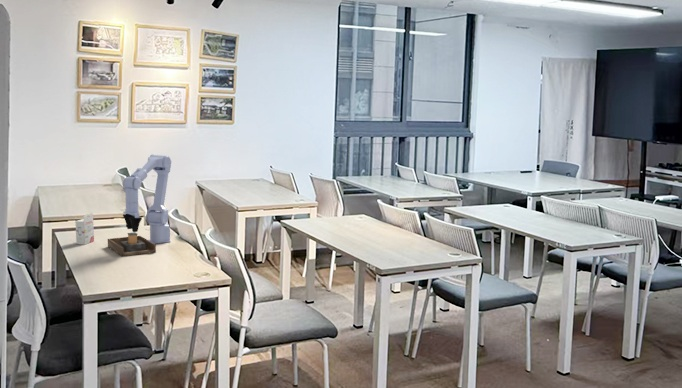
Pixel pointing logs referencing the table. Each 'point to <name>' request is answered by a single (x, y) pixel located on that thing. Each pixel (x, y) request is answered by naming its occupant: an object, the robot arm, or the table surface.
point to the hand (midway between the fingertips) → (132, 230)
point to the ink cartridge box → (85, 230)
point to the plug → (132, 238)
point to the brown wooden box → (131, 246)
